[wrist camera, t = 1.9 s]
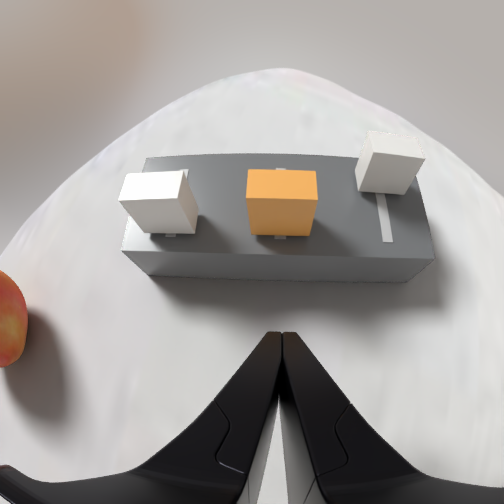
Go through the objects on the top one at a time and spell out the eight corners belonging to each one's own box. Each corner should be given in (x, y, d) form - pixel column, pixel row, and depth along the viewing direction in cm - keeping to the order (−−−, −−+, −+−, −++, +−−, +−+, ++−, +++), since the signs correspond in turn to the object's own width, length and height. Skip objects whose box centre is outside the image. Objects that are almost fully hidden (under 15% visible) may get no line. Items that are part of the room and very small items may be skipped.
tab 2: (309, 236, 18) (317, 199, 14) (251, 234, 18) (246, 197, 14) (308, 210, 19) (315, 171, 15) (252, 209, 19) (248, 169, 15)
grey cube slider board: (406, 282, 22) (435, 258, 17) (147, 275, 23) (120, 250, 19) (393, 196, 25) (412, 162, 20) (164, 191, 26) (146, 156, 22)
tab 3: (404, 194, 19) (425, 158, 15) (358, 191, 19) (373, 152, 15) (398, 174, 19) (417, 137, 16) (354, 170, 20) (367, 130, 16)
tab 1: (195, 233, 18) (177, 198, 15) (144, 232, 19) (118, 200, 15) (198, 208, 19) (183, 170, 15) (149, 209, 19) (127, 174, 16)
